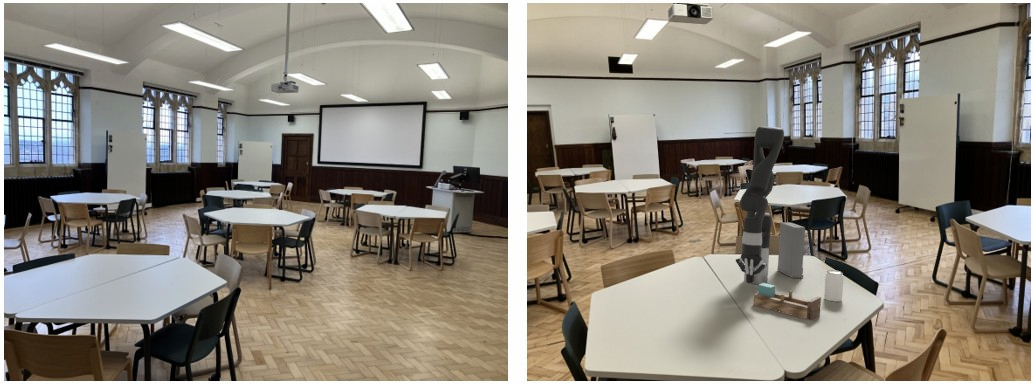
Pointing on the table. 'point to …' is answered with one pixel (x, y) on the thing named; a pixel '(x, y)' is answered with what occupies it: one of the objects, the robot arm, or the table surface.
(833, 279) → the can
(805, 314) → the wooden tray
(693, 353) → the table surface
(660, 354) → the table surface
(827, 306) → the table surface
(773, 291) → the rider
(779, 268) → the tall upright block
